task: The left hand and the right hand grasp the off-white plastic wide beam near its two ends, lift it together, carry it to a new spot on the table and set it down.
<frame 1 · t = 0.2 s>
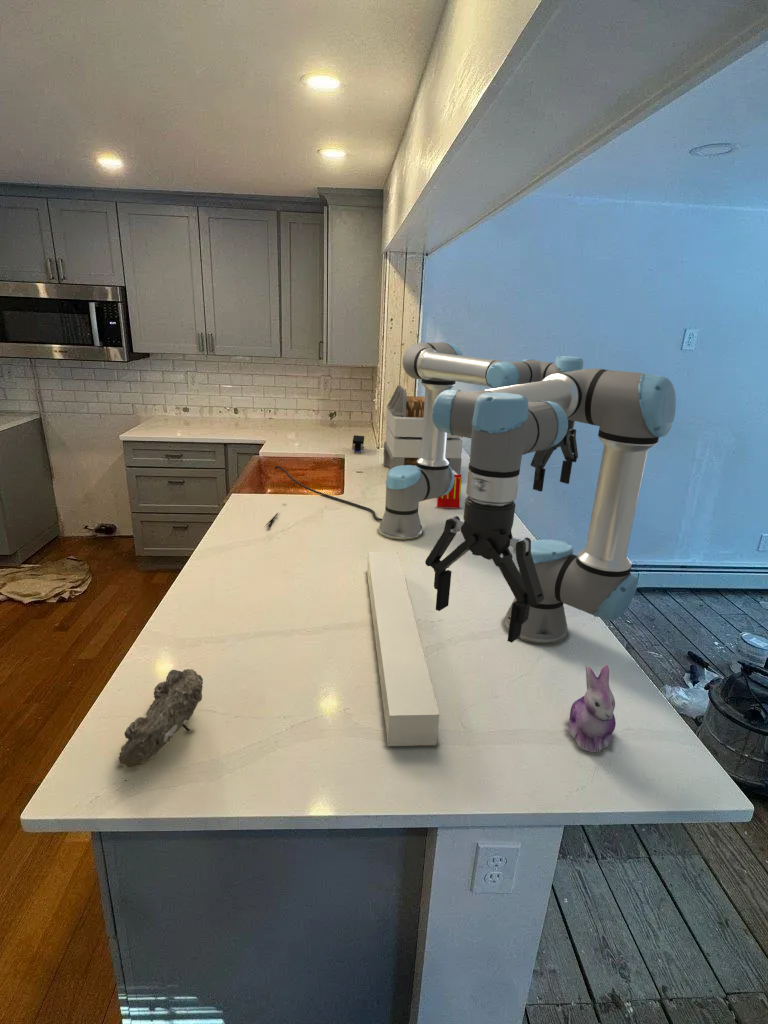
left hand: (551, 486, 166), 28 cm above the counter, tool pointing down, fingers open, 13 cm apart
right hand: (476, 622, 92), 27 cm above the counter, tool pointing down, fingers open, 13 cm apart
figurine character: (358, 451, 311), on the counter
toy: (443, 497, 241), on the counter
fossil: (170, 729, 105), on the counter
wide beam: (393, 638, 137), on the counter
figurine: (591, 737, 107), on the counter
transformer: (419, 473, 275), on the counter
feather: (276, 516, 211), on the counter
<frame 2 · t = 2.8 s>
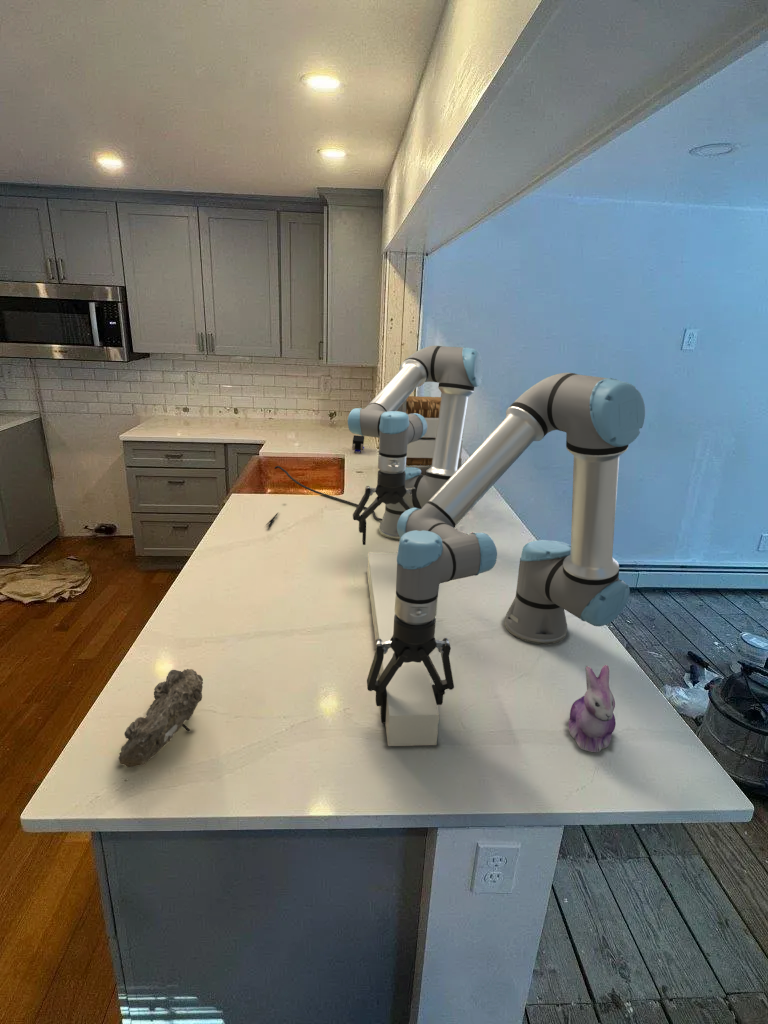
left hand: (388, 543, 159), 13 cm above the counter, tool pointing down, fingers open, 13 cm apart
right hand: (407, 717, 110), 0 cm above the counter, tool pointing down, fingers closed on wide beam, 9 cm apart
wide beam: (393, 638, 137), on the counter, touching right hand
everything else where it was.
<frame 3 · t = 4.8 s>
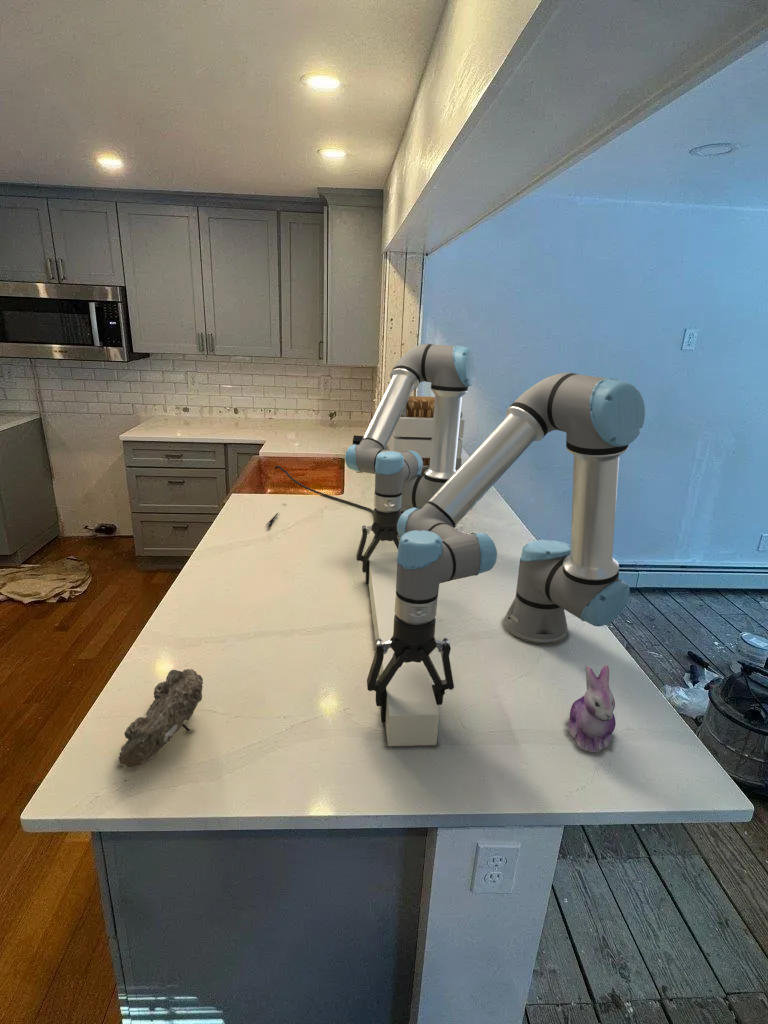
left hand: (384, 581, 163), 0 cm above the counter, tool pointing down, fingers closed on wide beam, 9 cm apart
right hand: (407, 717, 110), 0 cm above the counter, tool pointing down, fingers closed on wide beam, 9 cm apart
wide beam: (393, 638, 137), on the counter, touching left hand, right hand
everything else where it was.
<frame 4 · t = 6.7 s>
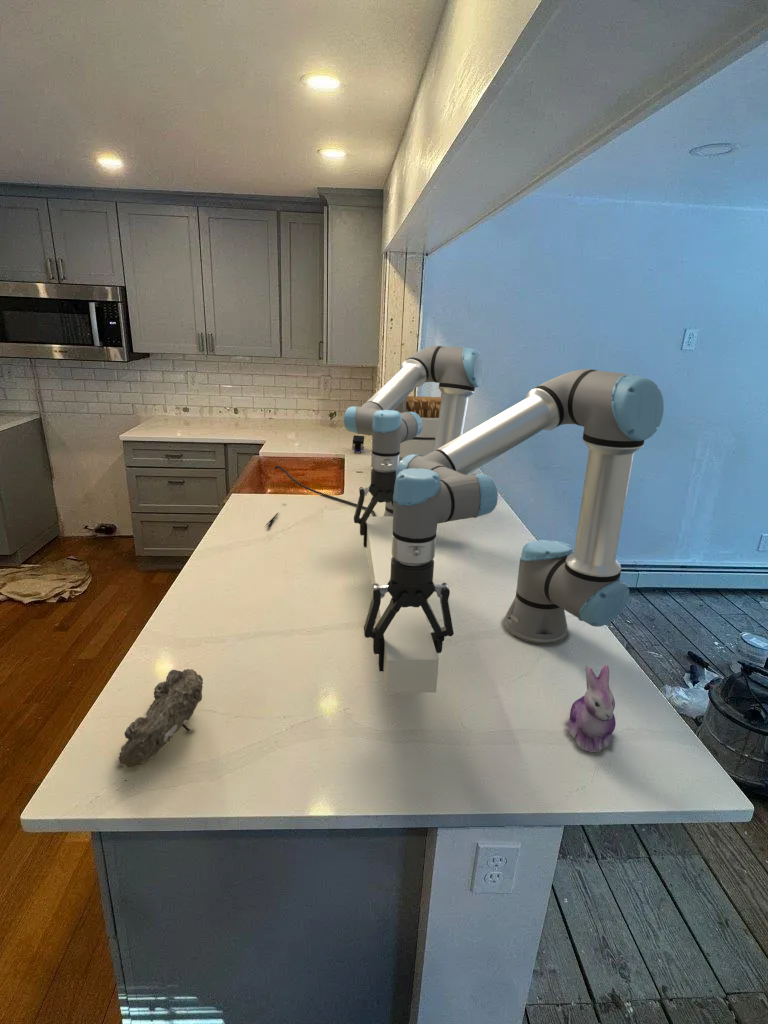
left hand: (382, 545, 160), 12 cm above the counter, tool pointing down, fingers closed on wide beam, 9 cm apart
right hand: (406, 666, 106), 12 cm above the counter, tool pointing down, fingers closed on wide beam, 9 cm apart
wide beam: (391, 596, 133), point 11 cm above the counter, touching left hand, right hand
everything else where it was.
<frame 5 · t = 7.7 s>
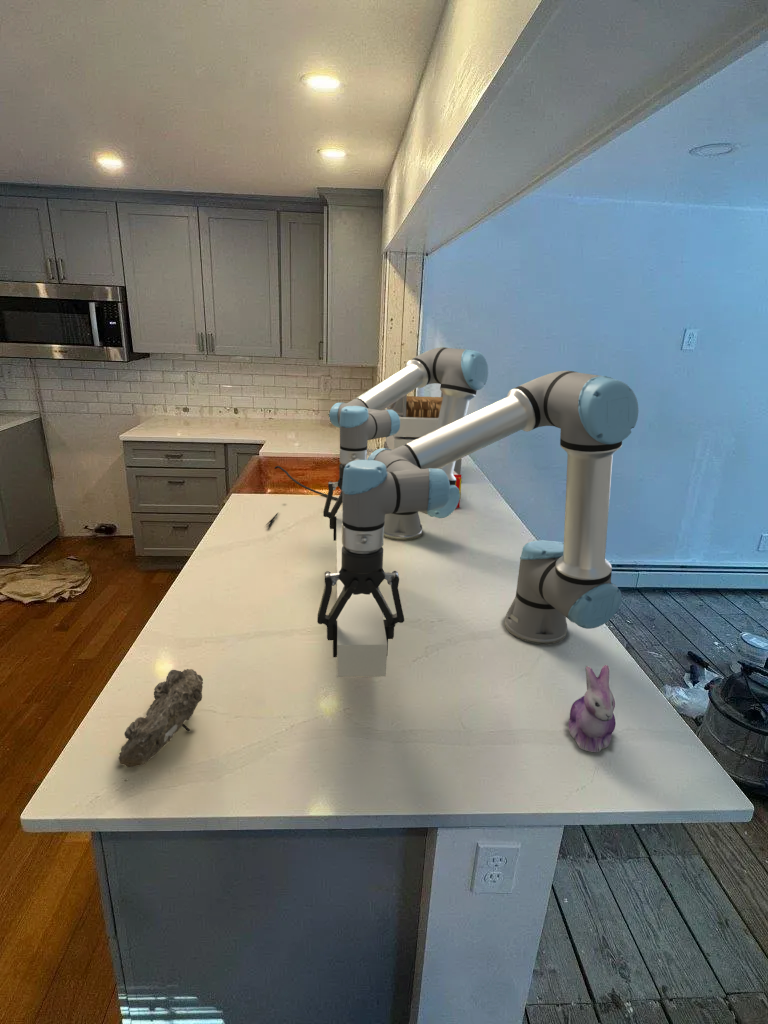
left hand: (351, 538, 164), 12 cm above the counter, tool pointing down, fingers closed on wide beam, 9 cm apart
right hand: (359, 652, 110), 12 cm above the counter, tool pointing down, fingers closed on wide beam, 9 cm apart
wide beam: (355, 586, 137), point 11 cm above the counter, touching left hand, right hand
everything else where it was.
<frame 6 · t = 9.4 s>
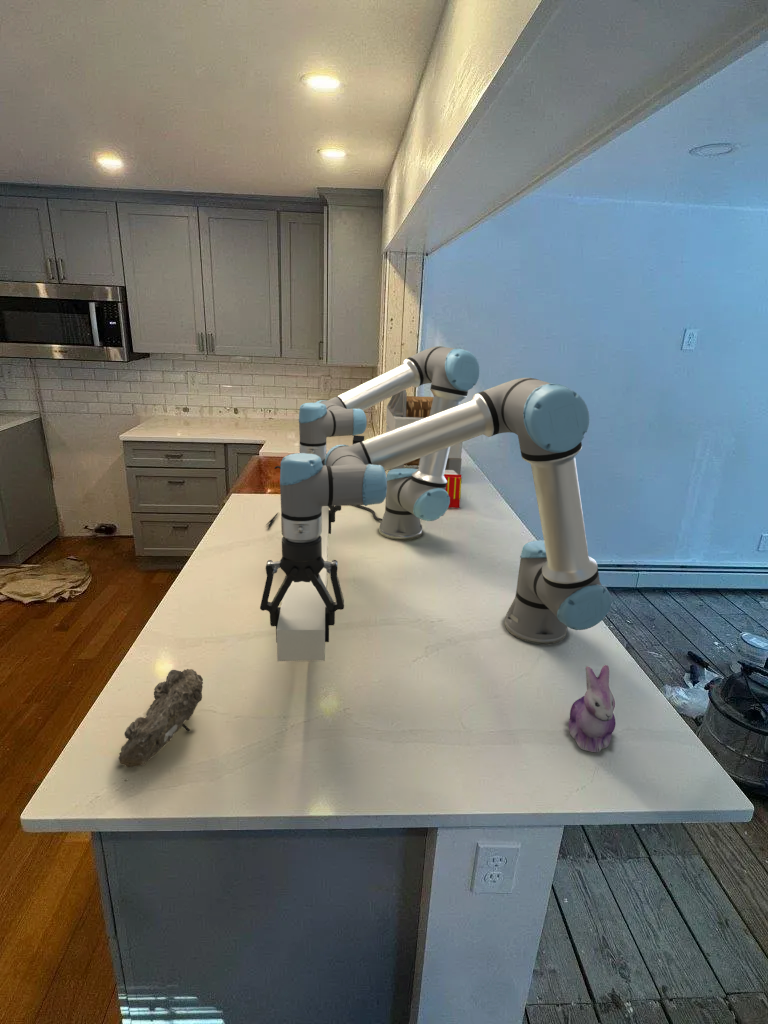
left hand: (313, 532, 169), 11 cm above the counter, tool pointing down, fingers closed on wide beam, 9 cm apart
right hand: (303, 638, 115), 11 cm above the counter, tool pointing down, fingers closed on wide beam, 9 cm apart
wide beam: (309, 577, 142), point 11 cm above the counter, touching left hand, right hand
everything else where it was.
when the left hand's fingers open (2 cm above the counter, at t = 11.0 s): wide beam stays where it is, on the counter.
when the right hand's fingers open (1 cm above the counter, at t = 11.0 s): wide beam stays where it is, on the counter.
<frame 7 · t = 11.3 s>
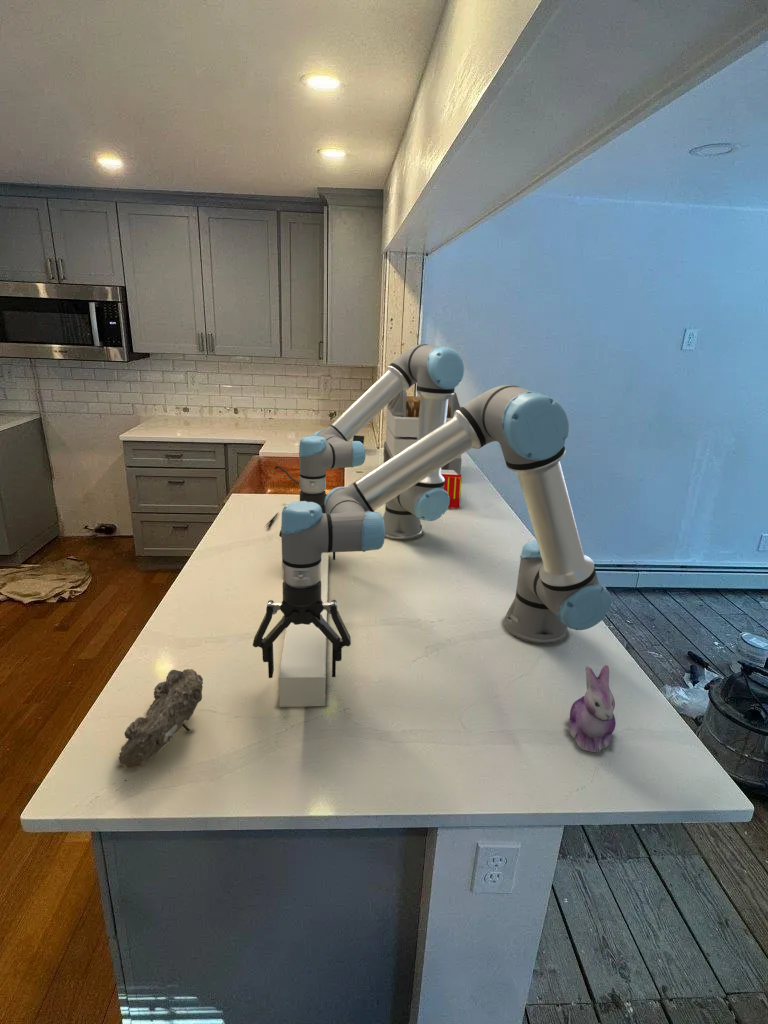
left hand: (312, 558, 171), 3 cm above the counter, tool pointing down, fingers open, 12 cm apart
right hand: (302, 673, 118), 3 cm above the counter, tool pointing down, fingers open, 12 cm apart
wide beam: (309, 614, 145), on the counter
everything else where it was.
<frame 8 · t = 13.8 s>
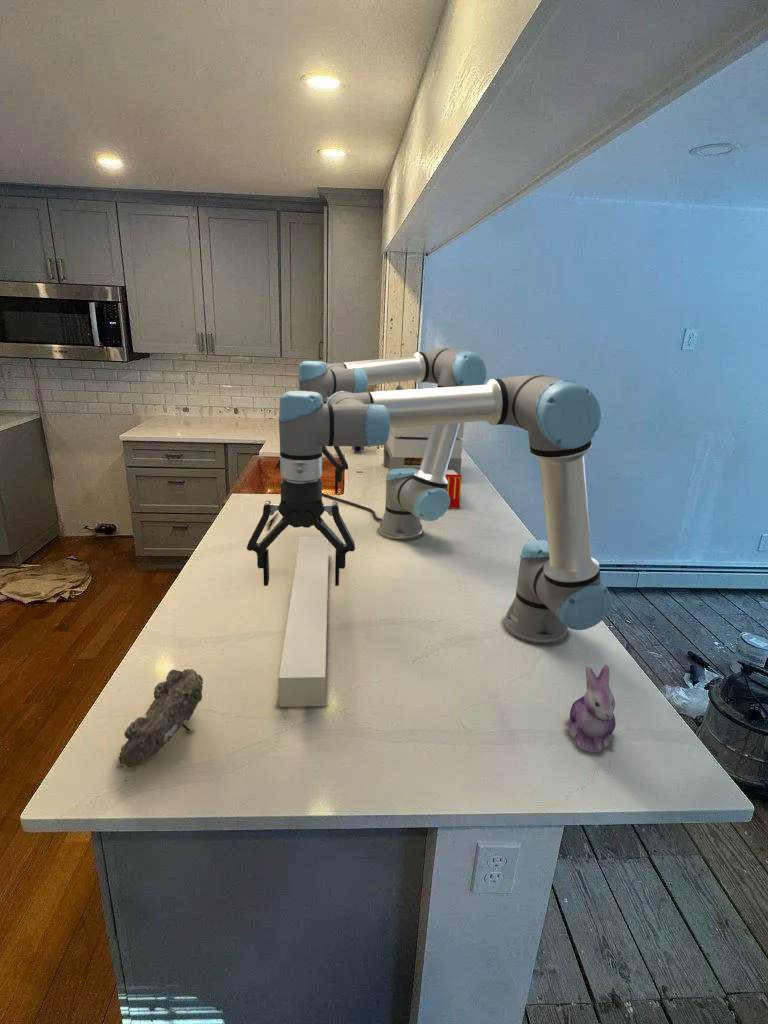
left hand: (312, 492, 164), 24 cm above the counter, tool pointing down, fingers open, 13 cm apart
right hand: (302, 582, 110), 24 cm above the counter, tool pointing down, fingers open, 13 cm apart
nothing on the counter moved.
at the end: wide beam inside the target area (0.1 cm from its centre), on the counter; wide beam tilted 0°; wide beam never tilted more than 2° during the clip; both hands held the wide beam at the same time; the left hand is holding nothing; the right hand is holding nothing; wide beam at rest at the end (0.0 cm/s) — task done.
